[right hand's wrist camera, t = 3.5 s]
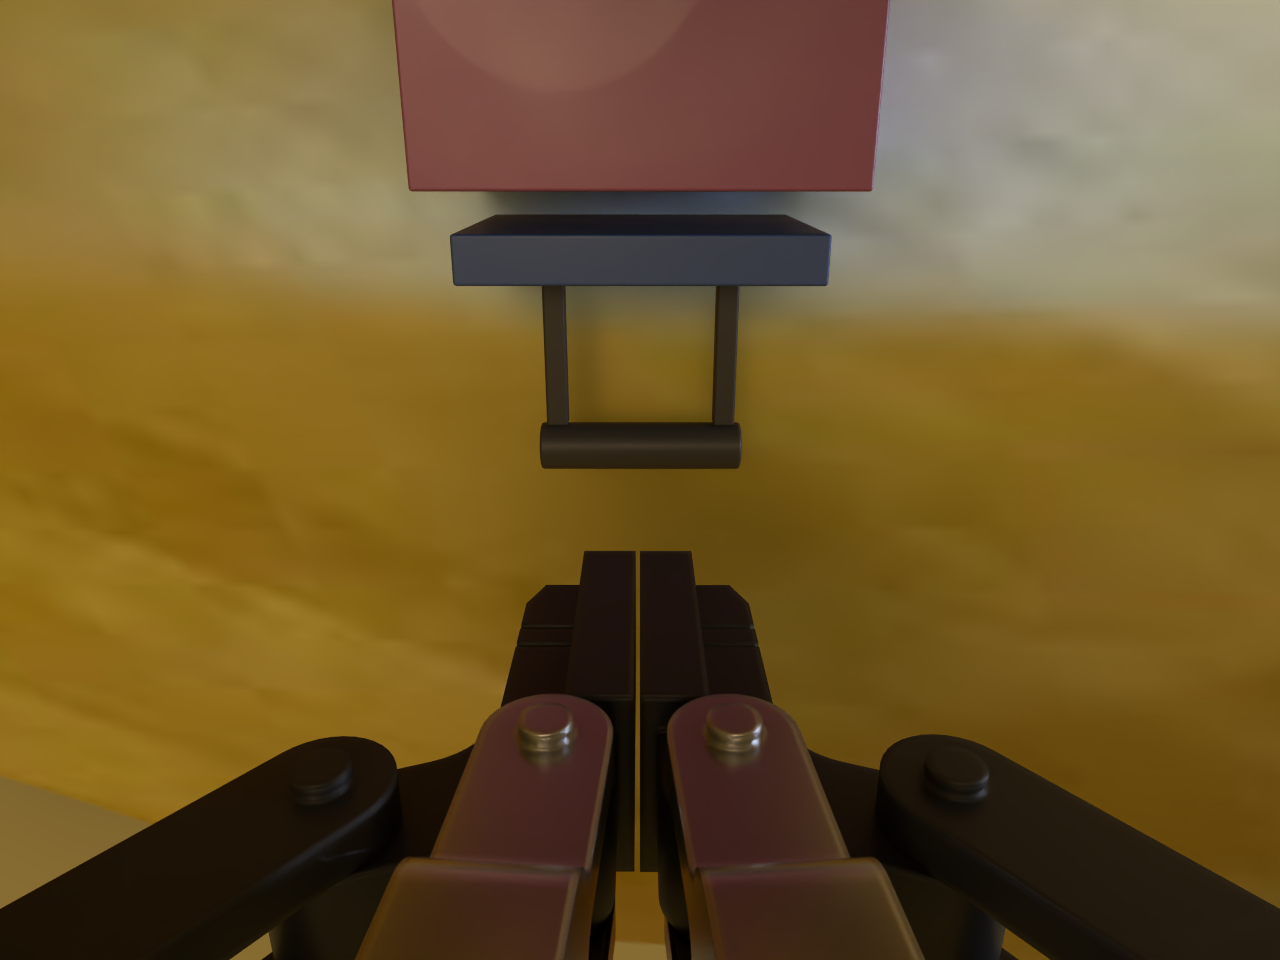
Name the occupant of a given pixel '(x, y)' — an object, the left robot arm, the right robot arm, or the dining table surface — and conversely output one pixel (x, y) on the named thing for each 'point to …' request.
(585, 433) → the drawer
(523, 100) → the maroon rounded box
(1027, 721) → the dining table surface
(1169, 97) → the dining table surface
